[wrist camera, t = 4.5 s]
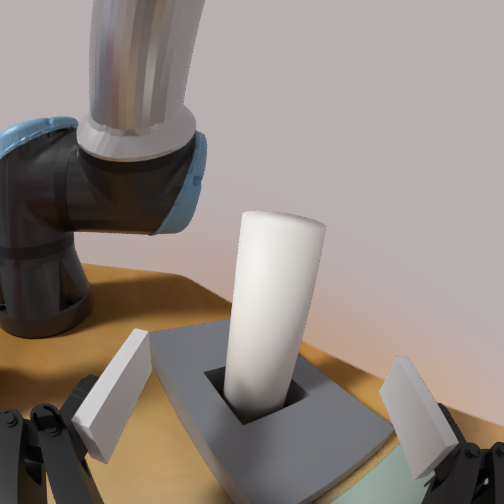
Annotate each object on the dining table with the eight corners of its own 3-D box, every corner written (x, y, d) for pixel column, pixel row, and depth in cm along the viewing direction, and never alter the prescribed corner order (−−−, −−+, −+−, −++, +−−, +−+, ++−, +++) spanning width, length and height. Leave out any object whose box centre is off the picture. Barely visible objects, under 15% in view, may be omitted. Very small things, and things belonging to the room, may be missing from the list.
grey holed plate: (148, 356, 26) (146, 332, 25) (248, 335, 32) (251, 313, 31) (257, 531, 10) (265, 520, 9) (379, 449, 17) (395, 427, 16)
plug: (211, 398, 22) (227, 210, 17) (259, 383, 25) (289, 212, 20) (241, 439, 18) (277, 230, 13) (292, 417, 21) (343, 229, 16)
